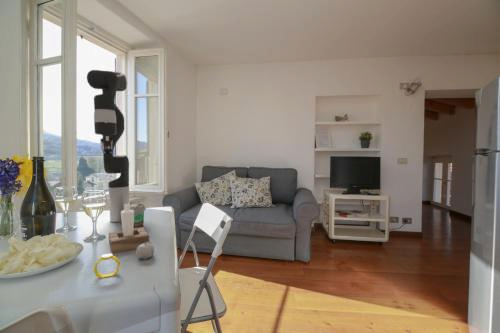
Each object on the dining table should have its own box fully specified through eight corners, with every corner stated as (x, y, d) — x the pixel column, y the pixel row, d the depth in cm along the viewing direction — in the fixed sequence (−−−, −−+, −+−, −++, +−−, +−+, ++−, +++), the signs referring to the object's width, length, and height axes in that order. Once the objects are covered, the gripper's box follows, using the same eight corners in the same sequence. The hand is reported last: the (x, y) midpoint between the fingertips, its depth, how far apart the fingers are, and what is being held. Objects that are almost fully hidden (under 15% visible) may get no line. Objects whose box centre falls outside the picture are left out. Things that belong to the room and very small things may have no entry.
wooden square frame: (109, 243, 92) (108, 232, 92) (143, 236, 98) (142, 226, 98) (111, 253, 82) (111, 242, 82) (149, 245, 88) (148, 234, 88)
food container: (134, 232, 103) (133, 209, 103) (122, 232, 105) (121, 209, 104) (151, 224, 115) (151, 203, 115) (140, 224, 117) (139, 203, 116)
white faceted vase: (126, 247, 87) (124, 206, 86) (119, 245, 89) (117, 205, 89) (138, 243, 91) (136, 203, 90) (131, 241, 93) (129, 202, 92)
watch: (120, 273, 69) (120, 252, 69) (118, 277, 66) (119, 256, 66) (95, 275, 67) (96, 254, 66) (93, 280, 64) (93, 258, 64)
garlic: (159, 255, 79) (158, 240, 79) (145, 262, 75) (144, 246, 74) (146, 252, 82) (145, 237, 82) (132, 259, 77) (131, 243, 77)
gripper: (94, 123, 100) (95, 163, 101) (94, 119, 88) (96, 164, 89) (114, 124, 104) (116, 162, 105) (117, 120, 92) (119, 163, 93)
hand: (107, 163), depth 97 cm, fingers open, 8 cm apart
